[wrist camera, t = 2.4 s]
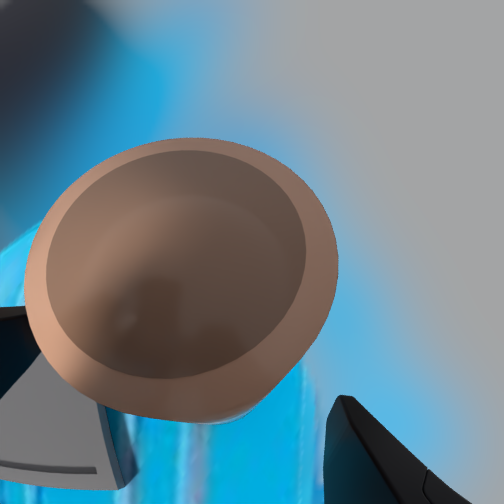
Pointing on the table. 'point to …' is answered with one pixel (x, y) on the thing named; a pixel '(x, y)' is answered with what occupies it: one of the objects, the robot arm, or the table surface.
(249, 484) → the table surface
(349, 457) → the robot arm
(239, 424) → the table surface
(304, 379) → the table surface
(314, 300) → the terracotta cup
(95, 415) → the charcoal tray
